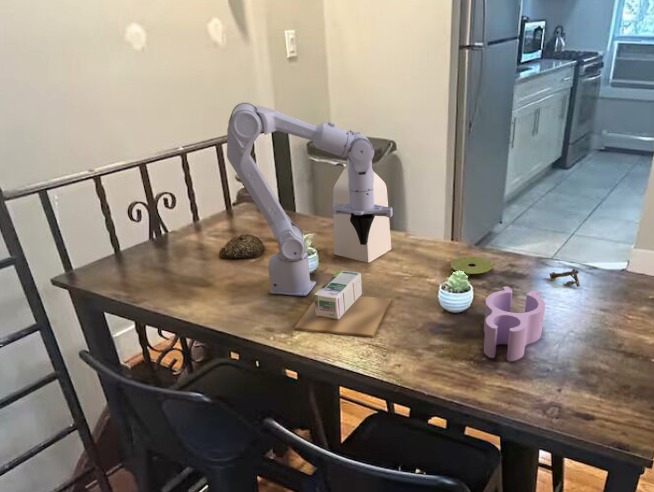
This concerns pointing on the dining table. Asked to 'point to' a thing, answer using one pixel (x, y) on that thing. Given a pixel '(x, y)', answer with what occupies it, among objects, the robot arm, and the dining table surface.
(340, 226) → the milk
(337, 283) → the syrup box
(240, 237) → the bread roll
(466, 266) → the mat
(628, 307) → the dining table surface
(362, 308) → the wooden board
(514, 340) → the clip
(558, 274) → the wooden post with brackets
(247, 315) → the dining table surface
